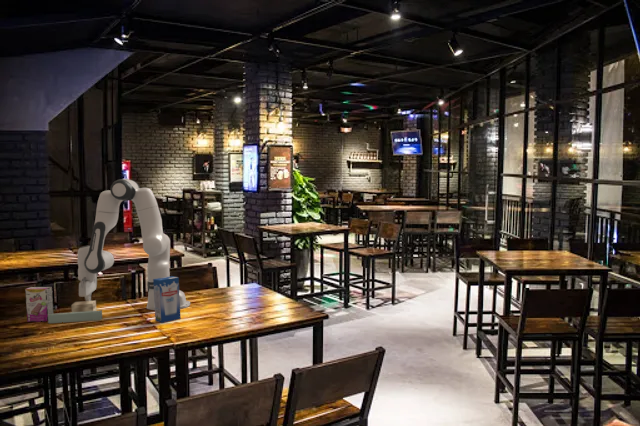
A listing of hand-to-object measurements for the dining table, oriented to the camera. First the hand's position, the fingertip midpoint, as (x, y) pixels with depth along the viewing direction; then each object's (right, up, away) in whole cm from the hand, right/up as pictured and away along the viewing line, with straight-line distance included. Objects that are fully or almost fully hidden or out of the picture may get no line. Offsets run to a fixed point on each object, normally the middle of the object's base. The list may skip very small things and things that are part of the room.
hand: (88, 301), depth 285 cm
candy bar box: (-14, -6, -21) cm, 26 cm away
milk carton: (+50, -4, -28) cm, 58 cm away
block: (+2, -5, -10) cm, 11 cm away
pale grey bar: (+4, -5, -24) cm, 25 cm away
